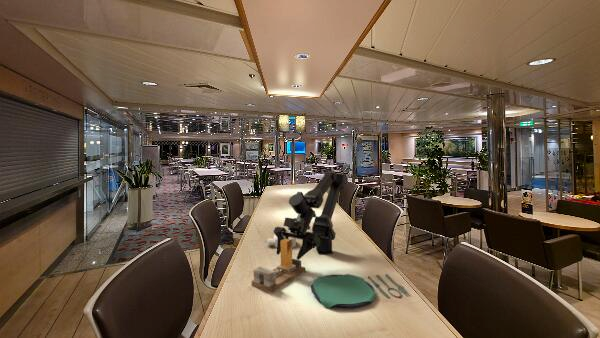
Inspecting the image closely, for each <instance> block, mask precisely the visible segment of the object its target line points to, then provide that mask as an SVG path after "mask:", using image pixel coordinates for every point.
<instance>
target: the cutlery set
mask: <svg viewBox="0 0 600 338" xmlns="http://www.w3.org/2000/svg"><path fill="white" fill-rule="evenodd" d="M385 277H386V278H387V279H388V280H389V281H390V282H391V283H392V284H393V285H394V286H396V287H397V289H396V288H394V287H390V286H389V285H388V283H387V282H386V281H385V279H383V278H382V277H381V275H379V274H376V278H378V279H379V281H381V282H382V283H383V284H384V285H385V286H386V287H387V291H388V293H389V294H390V295H391V296H394V297H396V298H399V297H400V298H401V297H402V295H404V296H405V297H407V298H408V297H409V298H410V297H412V295H411V294H410V293H409V292H408V291H407V289H406V288H405V287H404V286H402V285H400V284H398V283H397V282H396V281H395V280H394V279H393V278H392V277H391V276H390V275H389V274H388V273H385ZM367 278H368V279H370V280H371V281H372V282H373V284H374V286H375V287H376V288H377V289H378V290H379V291H380V293H381V294H382V295H384V296H385V297H386V298H387V299H389V300H391V297H390V295H389V294H388V293H386V291H385V290H384V289H383V288H382V287H381V286H380V284H379V283H378V282H376V281H375V280H374V279H373V278H372V277H371V276H369V275H368V276H367ZM310 289H311V293H312V294H313V296H314V297H315V298H317V299H318V300H319V302H320V304H321V305H323V307H324V308H327V309H330V308H332V307H333V306H336V307H342V308H343V307H348V308H351V307H352V308H355V307H360V306H364V305H366V304H368V303H370V304H372V303H373V302H374V300H375V299H376V298H377V293H376V290H375V289H374V287H373V285H372V284H371V283H369V282H368V281H366V280H365V279H364V278H362V277H360V276H356V275H352V274H348V273H345V274H329V275H328V274H327V275H321V276H318V277H317V278H315V279H314V280H312V282H311V285H310ZM390 291H393V292H394V291H395V292H397V293H398V295H399V296H397V295H395V294H393V293H391V292H390Z"/></svg>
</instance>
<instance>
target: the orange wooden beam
mask: <svg viewBox="0 0 600 338" xmlns="http://www.w3.org/2000/svg"><path fill="white" fill-rule="evenodd" d="M280 242H281V252H280V264H279V265H277V266H276V268H277V272H275V276H276V275H277V274H279V273H281V272H284V273H287V274H288V273H290V272H292V271H293V270H295V269H296V265H295V264H292V259H293V247H292V240H291V239H286V238H285V239H283V240H281V241H280Z"/></svg>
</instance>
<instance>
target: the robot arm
mask: <svg viewBox="0 0 600 338" xmlns="http://www.w3.org/2000/svg"><path fill="white" fill-rule="evenodd" d="M348 181H349V179H348V176H347V175H346V174H345V173H337V172H336V171H326V172H324V174H323V177H322V178H321V179H320V181H319V182H318V183H317V184H316V186H315V187H314V188H313V189H311V190H308V191H307V192H306V193H305V194H304V193H303V192H302V191H297V192H296V193H295V194H293V195H292V196H290V197H289V199H288V204H289V205H290V207H291V208H292V210H293V211H294V212H295V213H296V214H297V216H296V218H295V217H294V218H291V217H285V218H284V222H283V226H282V227H281V226H276V227H275V228H274V230H273V234H274V235H276V236H277V238H278V244H277V248H276V255H281V242H280V241H281V240H283V239H285V238H286V239H288V238H289V237H291V238H296V239H297V240H302V244H301V246H300V249H299V251H298V253H297V256H296V260H301V258H302V257H304V256H305V255H306V254H308V252H310V251H312V249H315V251H316V252H317V254H318V255H324V254H326V255H328V254H334V252H333V241H334V240H335V239H336V232H335V230H334V225H333V224H334V223H333V222H332V218H333V215H334V212H335V208H336V205H337V202H338V200H339V196H340V193H341V192H342V191H343V190H345V188H346V186H347V184H348ZM328 190H329V191H328ZM327 192H328V193H327ZM326 193H327V196H326V200H325V202H324V195H325V194H326ZM323 202H324V206H323V208H322V211H321V214H320V215H319V216H317V214H316V211H315V210H313V209H319V208H321V206H322V204H323ZM313 218H314V221H313V223H312V227H311V226H310V225H311V222H312V220H313ZM285 227H286V228H287V227H288V228H287V229H288V230H287V229H286V228H285ZM308 230H311V231H312V232H310V231H308Z"/></svg>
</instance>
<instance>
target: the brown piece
mask: <svg viewBox="0 0 600 338" xmlns="http://www.w3.org/2000/svg"><path fill="white" fill-rule="evenodd" d="M292 264H295V265H296V269H295V270H293V271H292V272H290V273H288V274H287V273H284V272H281V273H279V274H277V275H276V276H275V272H277V267H275V268H273V269H270V268H267V267H264V266H258V267H256V268H254V269H253V279H252V280H251V286H253V287H255V288H257V289H261V290H263V291H267V292H270V293H274V292H276V291H277V290H279V289H280V288H282V287H283V286H284V285H287V284H289V282H291V281H293V280H295V279H296V278H297V277H299V276H301V275H302V274H304V273H305V272H306V267H305V266H302V260H301V259H299V260H297V258H296V259H295V258H292Z"/></svg>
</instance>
